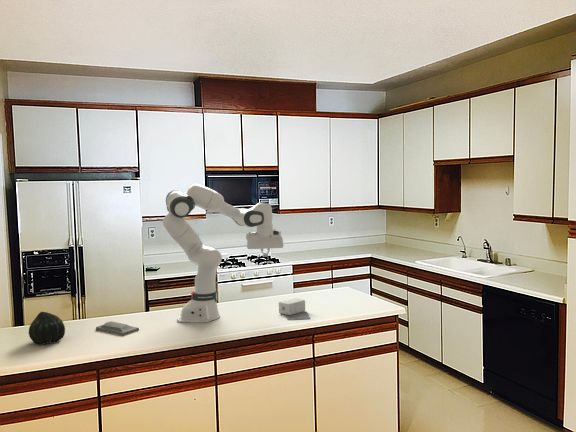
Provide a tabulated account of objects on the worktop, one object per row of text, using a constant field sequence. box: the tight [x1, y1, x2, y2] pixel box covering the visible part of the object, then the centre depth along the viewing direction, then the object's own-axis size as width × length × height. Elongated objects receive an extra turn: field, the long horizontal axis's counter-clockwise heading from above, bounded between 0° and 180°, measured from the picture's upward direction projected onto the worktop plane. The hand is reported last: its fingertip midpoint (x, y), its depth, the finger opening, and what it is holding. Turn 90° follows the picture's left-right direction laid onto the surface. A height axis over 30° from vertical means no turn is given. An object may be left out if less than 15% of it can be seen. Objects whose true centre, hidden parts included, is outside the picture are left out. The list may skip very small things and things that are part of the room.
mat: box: [285, 310, 311, 321], centre depth 251 cm, size 12×13×1 cm
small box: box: [278, 297, 306, 316], centre depth 257 cm, size 8×6×13 cm
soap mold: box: [95, 321, 140, 337], centre depth 233 cm, size 10×20×4 cm, turn 60°
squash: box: [28, 311, 66, 346], centre depth 218 cm, size 14×15×15 cm
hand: (265, 256), depth 258 cm, fingers closed
